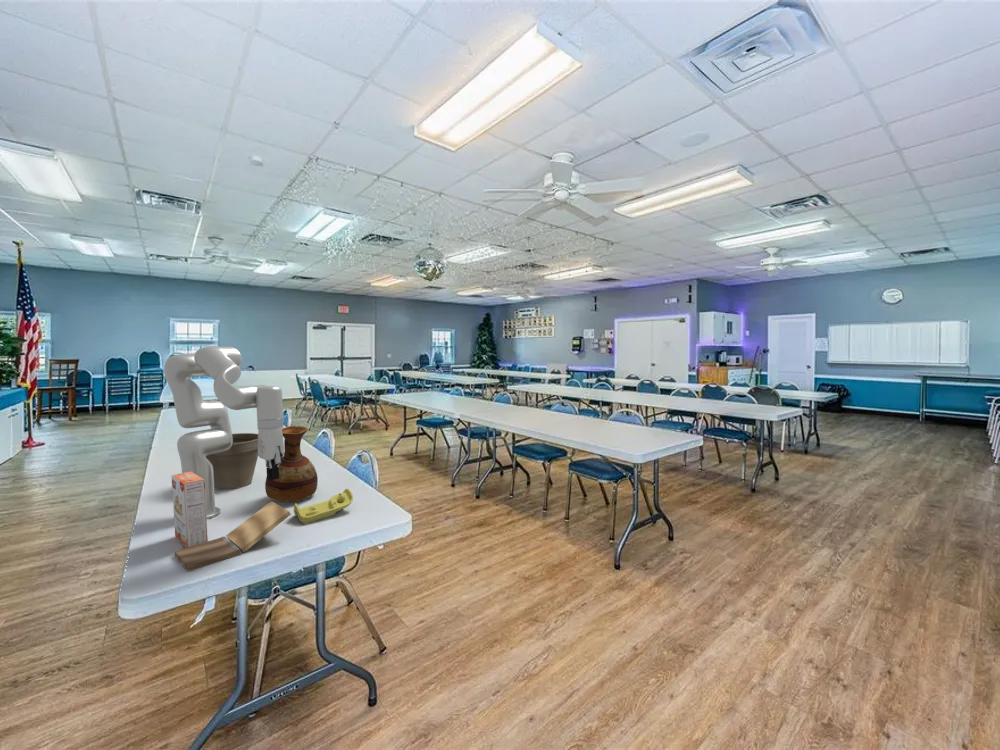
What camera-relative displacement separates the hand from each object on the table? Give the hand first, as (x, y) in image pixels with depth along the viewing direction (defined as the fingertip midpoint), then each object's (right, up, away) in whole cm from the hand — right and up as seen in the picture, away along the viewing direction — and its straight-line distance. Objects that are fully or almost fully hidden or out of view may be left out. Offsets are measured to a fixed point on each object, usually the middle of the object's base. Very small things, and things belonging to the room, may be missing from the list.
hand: (273, 479), depth 140 cm
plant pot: (-47, -16, +54) cm, 74 cm away
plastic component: (+9, -18, +19) cm, 28 cm away
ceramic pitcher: (-12, -17, +37) cm, 42 cm away
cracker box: (-25, -19, -3) cm, 32 cm away
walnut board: (-13, -20, -13) cm, 27 cm away
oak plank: (-3, -15, -2) cm, 15 cm away
